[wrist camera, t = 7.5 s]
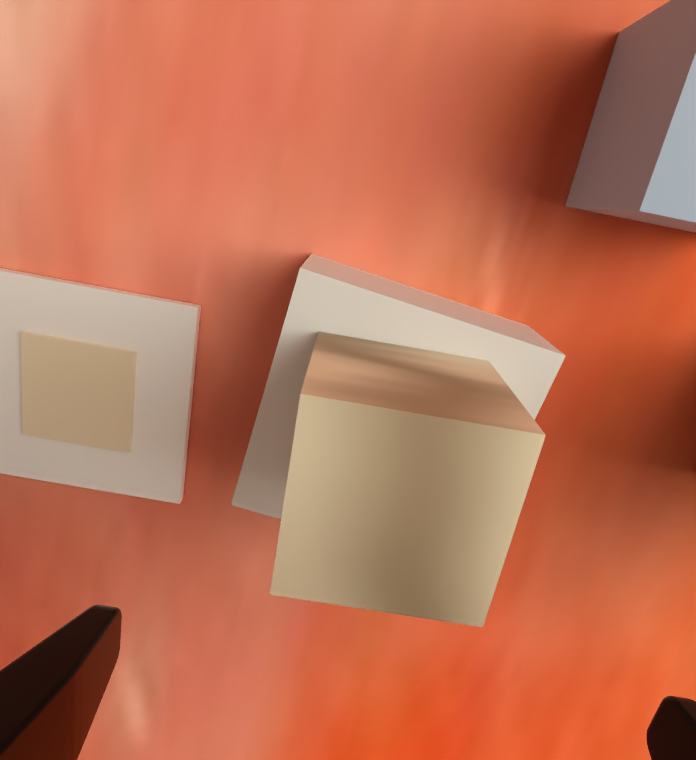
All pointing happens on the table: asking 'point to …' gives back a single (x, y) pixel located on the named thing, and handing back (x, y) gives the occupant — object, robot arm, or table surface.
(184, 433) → the tile
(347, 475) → the birch cube
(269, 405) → the base block
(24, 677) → the robot arm
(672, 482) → the table surface
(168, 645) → the table surface
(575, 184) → the slate-blue cube
